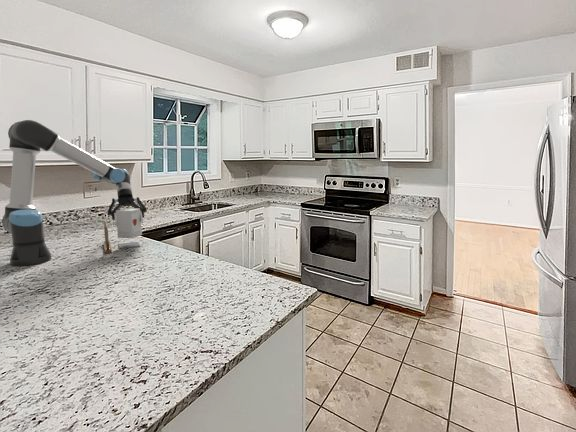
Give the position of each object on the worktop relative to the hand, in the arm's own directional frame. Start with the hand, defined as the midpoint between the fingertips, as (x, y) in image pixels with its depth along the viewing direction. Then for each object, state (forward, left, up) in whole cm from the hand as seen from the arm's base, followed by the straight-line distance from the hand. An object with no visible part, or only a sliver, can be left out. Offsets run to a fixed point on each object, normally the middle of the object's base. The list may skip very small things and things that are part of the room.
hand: (129, 223), depth 181 cm
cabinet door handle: (-11, +2, -13) cm, 17 cm away
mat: (-1, +2, -13) cm, 13 cm away
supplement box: (0, +1, -8) cm, 8 cm away
